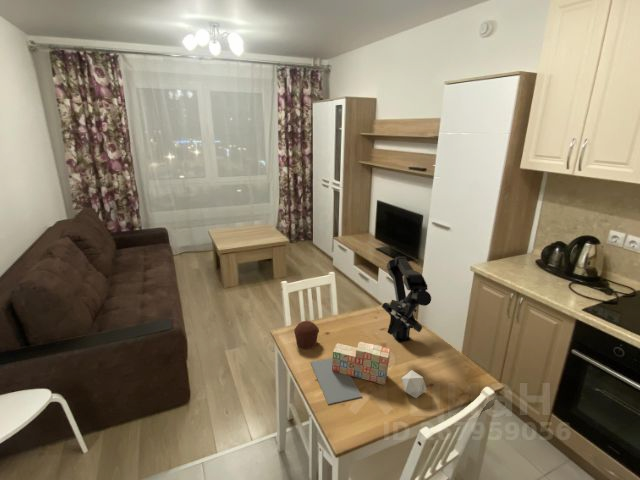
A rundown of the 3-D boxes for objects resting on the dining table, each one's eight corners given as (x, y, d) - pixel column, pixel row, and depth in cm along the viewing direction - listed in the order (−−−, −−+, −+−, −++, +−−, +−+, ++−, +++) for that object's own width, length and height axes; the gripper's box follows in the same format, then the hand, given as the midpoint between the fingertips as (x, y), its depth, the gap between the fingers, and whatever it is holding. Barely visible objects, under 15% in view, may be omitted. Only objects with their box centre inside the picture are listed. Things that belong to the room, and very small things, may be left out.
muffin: (294, 336, 160) (293, 317, 157) (317, 335, 161) (317, 316, 158) (294, 351, 149) (294, 331, 146) (319, 350, 150) (320, 330, 147)
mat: (339, 357, 145) (339, 356, 145) (362, 397, 123) (362, 396, 123) (310, 362, 141) (310, 361, 141) (328, 404, 119) (328, 403, 119)
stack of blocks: (331, 371, 135) (332, 344, 132) (335, 362, 141) (337, 336, 138) (385, 385, 129) (388, 357, 125) (387, 374, 135) (390, 348, 131)
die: (404, 403, 121) (423, 390, 117) (392, 379, 127) (410, 366, 122) (417, 400, 127) (435, 388, 122) (405, 378, 132) (423, 365, 127)
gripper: (386, 284, 144) (364, 314, 141) (419, 302, 129) (396, 336, 126) (398, 297, 150) (377, 326, 148) (431, 315, 135) (409, 348, 133)
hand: (389, 333), depth 138 cm, fingers closed
